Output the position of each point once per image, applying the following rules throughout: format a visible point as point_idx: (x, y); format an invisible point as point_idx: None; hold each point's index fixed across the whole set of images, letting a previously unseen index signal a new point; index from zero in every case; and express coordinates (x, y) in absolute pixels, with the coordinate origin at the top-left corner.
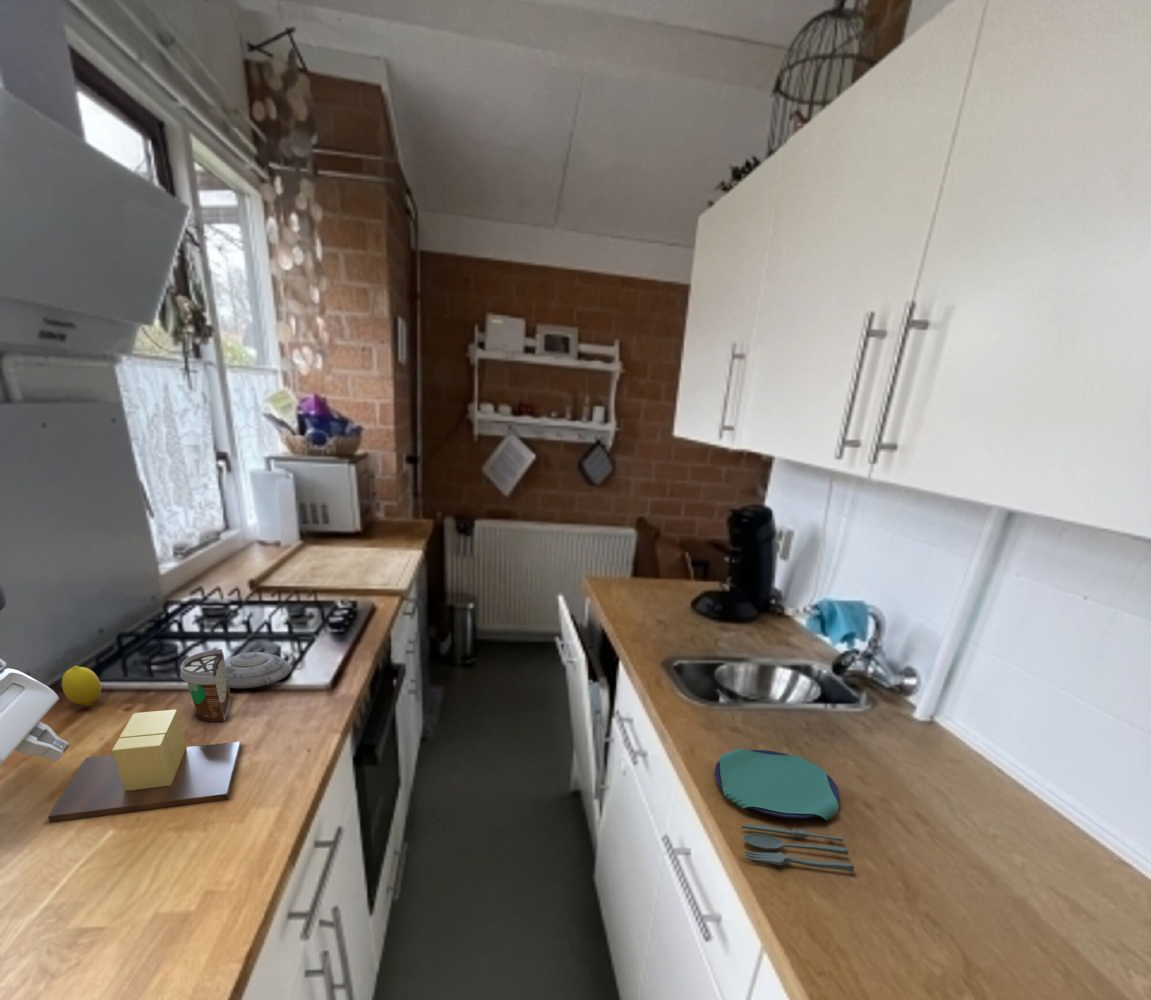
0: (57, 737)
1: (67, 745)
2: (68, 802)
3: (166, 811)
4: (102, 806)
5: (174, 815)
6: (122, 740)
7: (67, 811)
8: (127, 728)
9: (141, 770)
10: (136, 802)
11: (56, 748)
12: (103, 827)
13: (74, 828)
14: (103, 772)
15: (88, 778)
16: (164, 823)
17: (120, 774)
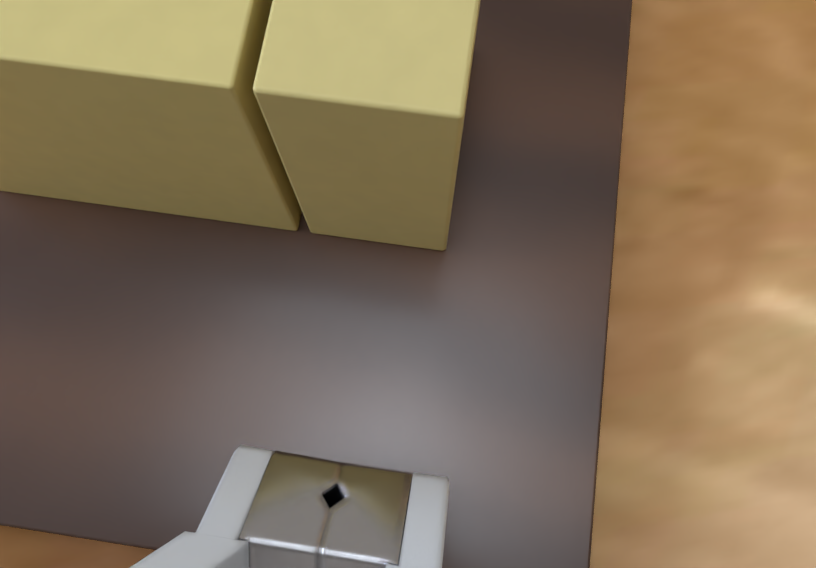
0: (208, 533)
1: (285, 453)
2: (459, 527)
3: (654, 84)
4: (573, 342)
5: (701, 52)
6: (307, 59)
7: (564, 517)
8: (80, 45)
9: (468, 86)
10: (591, 186)
11: (414, 519)
12: (713, 338)
13: (679, 474)
14: (163, 382)
15: (202, 456)
16: (759, 87)
17: (451, 203)
